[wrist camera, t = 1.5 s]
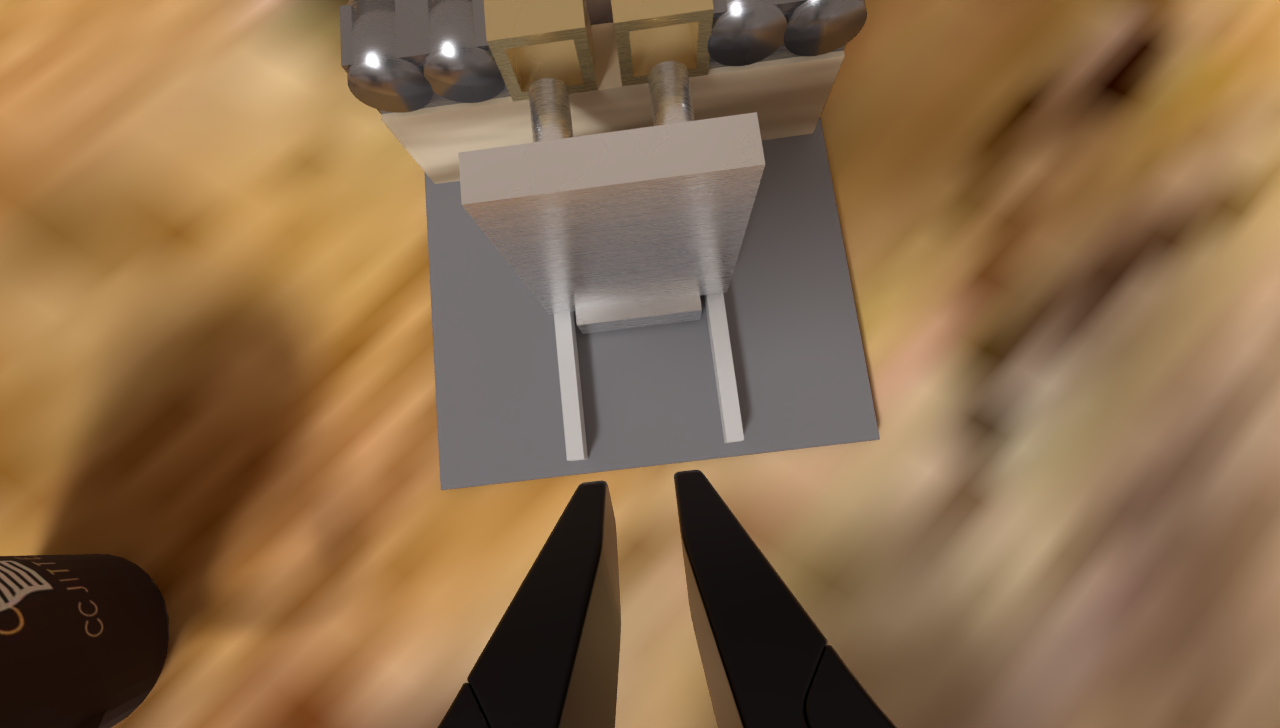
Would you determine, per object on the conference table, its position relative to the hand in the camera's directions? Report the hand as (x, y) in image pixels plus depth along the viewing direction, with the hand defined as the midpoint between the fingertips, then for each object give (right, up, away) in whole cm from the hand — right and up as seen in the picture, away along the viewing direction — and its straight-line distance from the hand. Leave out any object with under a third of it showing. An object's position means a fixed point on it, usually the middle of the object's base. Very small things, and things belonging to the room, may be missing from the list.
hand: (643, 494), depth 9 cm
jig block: (-1, +11, +15) cm, 19 cm away
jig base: (0, +6, +14) cm, 15 cm away
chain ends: (-1, +12, +10) cm, 16 cm away
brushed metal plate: (0, +6, +14) cm, 15 cm away
